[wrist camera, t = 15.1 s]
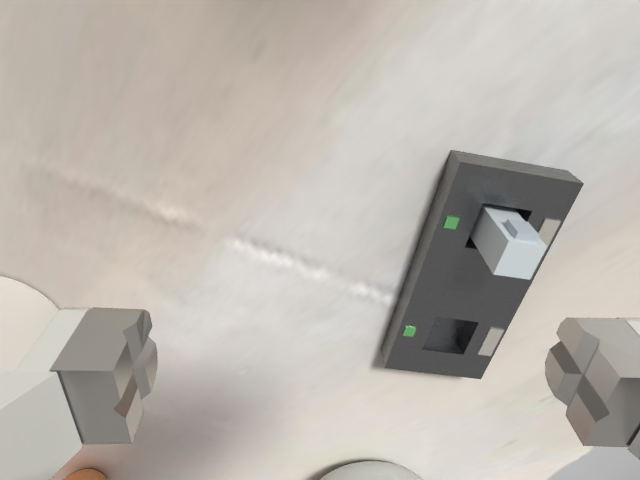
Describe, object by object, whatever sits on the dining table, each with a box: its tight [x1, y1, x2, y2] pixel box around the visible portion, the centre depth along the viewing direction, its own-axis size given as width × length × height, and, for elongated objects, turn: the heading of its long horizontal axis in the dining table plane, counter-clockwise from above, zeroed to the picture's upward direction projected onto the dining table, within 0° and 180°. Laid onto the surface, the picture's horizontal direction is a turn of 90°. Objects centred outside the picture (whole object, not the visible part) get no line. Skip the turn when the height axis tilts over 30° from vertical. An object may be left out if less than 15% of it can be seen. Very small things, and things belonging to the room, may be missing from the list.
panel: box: [381, 150, 584, 379], centre depth 49 cm, size 26×12×3 cm, turn 169°
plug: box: [469, 203, 547, 280], centre depth 43 cm, size 4×4×8 cm
